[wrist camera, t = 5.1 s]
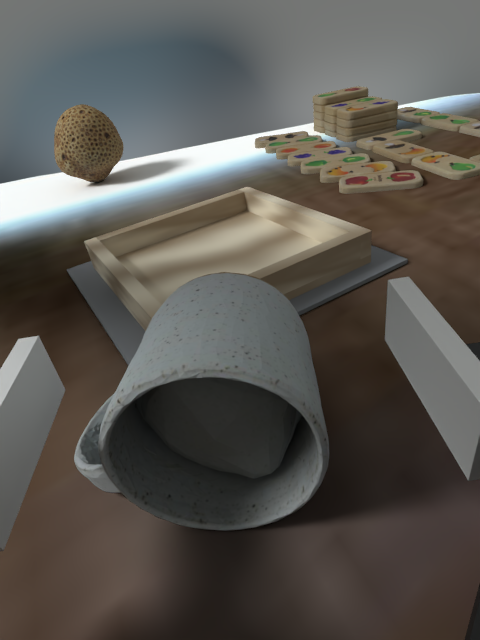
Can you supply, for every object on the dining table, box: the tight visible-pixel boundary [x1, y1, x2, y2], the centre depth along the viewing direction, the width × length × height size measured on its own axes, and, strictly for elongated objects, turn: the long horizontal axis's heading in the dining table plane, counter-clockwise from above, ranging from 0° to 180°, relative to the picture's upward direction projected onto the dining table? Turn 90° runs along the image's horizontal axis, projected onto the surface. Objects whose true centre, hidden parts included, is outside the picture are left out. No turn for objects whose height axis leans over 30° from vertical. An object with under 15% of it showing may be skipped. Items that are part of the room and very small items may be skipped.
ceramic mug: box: [74, 272, 329, 530], centre depth 18 cm, size 11×8×8 cm
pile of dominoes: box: [255, 87, 480, 194], centre depth 56 cm, size 35×27×6 cm
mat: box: [67, 245, 408, 366], centre depth 34 cm, size 19×20×1 cm
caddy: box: [84, 187, 372, 331], centre depth 33 cm, size 16×16×2 cm
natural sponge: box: [54, 105, 123, 182], centre depth 60 cm, size 9×9×10 cm
